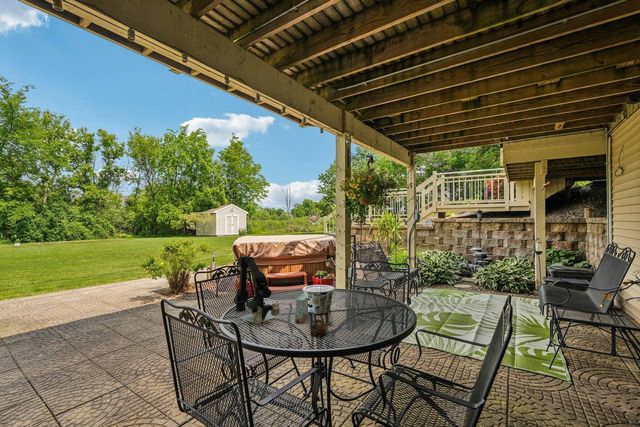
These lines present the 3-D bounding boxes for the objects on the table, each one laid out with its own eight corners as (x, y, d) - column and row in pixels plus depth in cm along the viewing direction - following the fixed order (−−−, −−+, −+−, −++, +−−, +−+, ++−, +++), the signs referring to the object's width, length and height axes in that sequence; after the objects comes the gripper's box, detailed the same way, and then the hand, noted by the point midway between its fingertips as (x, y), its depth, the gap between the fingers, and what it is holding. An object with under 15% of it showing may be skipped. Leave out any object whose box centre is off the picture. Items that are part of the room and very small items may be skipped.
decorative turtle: (313, 339, 159) (313, 324, 160) (307, 331, 174) (306, 317, 174) (330, 337, 162) (329, 322, 163) (322, 329, 176) (321, 315, 177)
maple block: (253, 321, 185) (253, 313, 185) (259, 318, 189) (259, 311, 189) (258, 322, 182) (259, 314, 182) (264, 320, 186) (264, 312, 186)
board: (238, 319, 191) (238, 317, 191) (262, 310, 209) (262, 309, 209) (257, 325, 180) (257, 323, 180) (281, 315, 199) (281, 314, 199)
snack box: (303, 324, 183) (303, 300, 184) (294, 323, 184) (295, 299, 185) (311, 313, 204) (311, 292, 204) (303, 313, 205) (303, 291, 206)
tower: (271, 314, 197) (271, 303, 198) (275, 313, 201) (275, 302, 201) (275, 315, 195) (275, 304, 195) (279, 314, 198) (279, 303, 199)
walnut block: (252, 313, 199) (252, 304, 199) (258, 311, 204) (258, 302, 204) (258, 315, 196) (258, 306, 196) (264, 313, 201) (264, 304, 201)
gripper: (239, 295, 184) (239, 319, 184) (260, 300, 174) (260, 326, 174) (252, 291, 194) (252, 315, 193) (273, 296, 183) (273, 321, 183)
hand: (259, 319), depth 186 cm, fingers open, 7 cm apart
